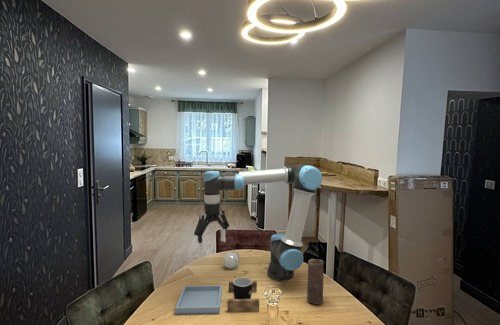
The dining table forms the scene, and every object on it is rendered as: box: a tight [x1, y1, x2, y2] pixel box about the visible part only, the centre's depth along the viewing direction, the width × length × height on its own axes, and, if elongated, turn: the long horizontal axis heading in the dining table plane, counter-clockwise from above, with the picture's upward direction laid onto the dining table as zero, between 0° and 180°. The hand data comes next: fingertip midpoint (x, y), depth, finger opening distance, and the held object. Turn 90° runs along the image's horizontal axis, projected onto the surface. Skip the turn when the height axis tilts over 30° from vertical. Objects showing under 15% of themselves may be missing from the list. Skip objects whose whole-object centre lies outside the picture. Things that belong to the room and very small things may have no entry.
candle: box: [306, 258, 325, 305], centre depth 128 cm, size 8×7×20 cm
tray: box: [175, 284, 223, 316], centre depth 128 cm, size 19×19×3 cm
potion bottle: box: [222, 251, 240, 270], centre depth 167 cm, size 9×10×15 cm
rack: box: [227, 280, 260, 313], centre depth 129 cm, size 14×18×5 cm
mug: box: [233, 276, 253, 299], centre depth 129 cm, size 12×9×10 cm
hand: (212, 245), depth 135 cm, fingers open, 13 cm apart
